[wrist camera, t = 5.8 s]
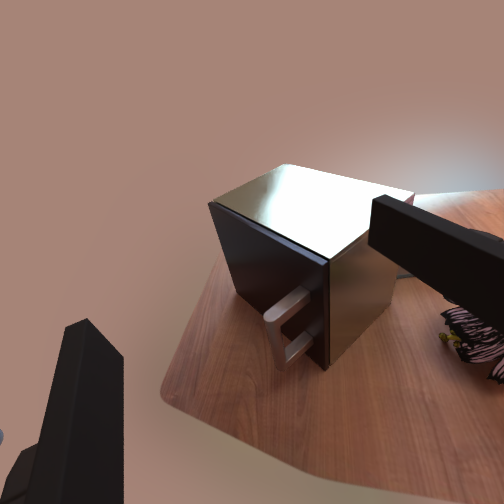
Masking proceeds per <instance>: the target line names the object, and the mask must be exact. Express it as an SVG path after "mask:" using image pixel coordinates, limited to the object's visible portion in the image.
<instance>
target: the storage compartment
mask: <svg viewBox="0 0 504 504" xmlns="http://www.w3.org/2000/svg"><path fill="white" fill-rule="evenodd" d="M383 194H387V195H389V196H392V197H394V198H396V199H399V200H401V201H403V202H406V203H408V204H411V205H413V201H414V196H415V193H413V192H409V191H404V190H400V189H396V188H391V187H387V186H382V185H378V184H374V183H369V182H365V181H360V180H356V179H352V178H347V177H343V176H338V175H334V174H330V173H325V172H321V171H316V170H312V169H307V168H303V167H298V166H294V165H289V164H284V165H282V166H280V167H278V168H276V169H274V170H272V171H270V172H268V173H266V174H264V175H262V176H260V177H258V178H256V179H254V180H252V181H250V182H248V183H246V184H244V185H242V186H240V187H238V188H236V189H234V190H232V191H230V192H228V193H226V194H224V195H222V196H220V197H218V198H216V199H214V200H213V201H214V202H215V203H216V204H218V205H220V206H222V207H224V208H226V209H228V210H230V211H232V212H234V213H236V214H238V215H240V216H242V217H243V218H245V219H247V220H249V221H251V222H253V223H255V224H257V225H259V226H261V227H263V228H265V229H267V230H269V231H270V232H272V233H274V234H276V235H278V236H280V237H282V238H284V239H286V240H288V241H290V242H292V243H294V244H296V245H297V246H299V247H301V248H303V249H305V250H307V251H309V252H311V253H313V254H315V255H317V256H319V257H321V258H323V259H324V260H326V261H328V297H329V366H331V365H332V364H333V363H334V362H335V361H336V360H337V359H338V358H339V357H340V356H341V355H342V354H343V353H344V352H345V351H346V350H347V349H348V348H349V347H350V346H351V345H352V344H353V342H354V341H355V340H356V339H357V338H358V337H359V336H360V335H361V334H362V333H363V332H364V331H365V330H366V329H367V328H368V327H369V326H370V325H371V324H372V323H373V322H374V321H375V320H376V319H377V318H378V317H379V316H380V315H381V314H382V313H383V312H384V310H385V309H386V308H387V307H388V306H389V305H390V304H391V301H392V296H393V292H394V287H395V283H396V278H397V273H398V269H399V266H398V265H397V264H395V263H394V262H392V261H391V260H389V259H388V258H386V257H385V256H383V255H382V254H380V253H379V252H377V251H376V250H374V249H373V248H371V247H370V246H368V245H367V242H368V233H369V223H370V213H371V204H372V199H373V198H375V197H378V196H380V195H383Z"/></svg>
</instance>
